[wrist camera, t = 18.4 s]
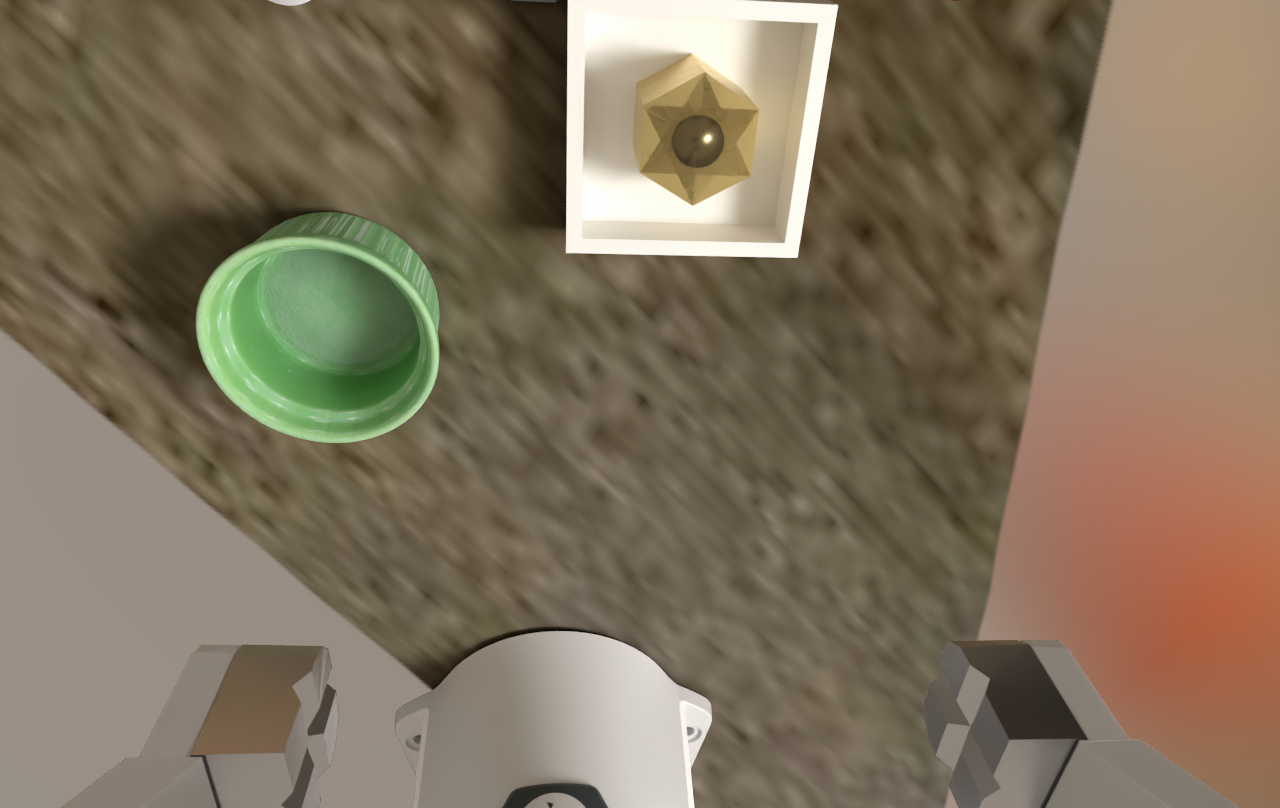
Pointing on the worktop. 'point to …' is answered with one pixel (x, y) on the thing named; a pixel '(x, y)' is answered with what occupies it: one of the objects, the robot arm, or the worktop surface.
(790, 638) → the worktop surface
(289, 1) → the mat
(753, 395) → the worktop surface
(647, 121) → the tan faceted block
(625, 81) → the ceramic dish
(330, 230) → the ramekin
